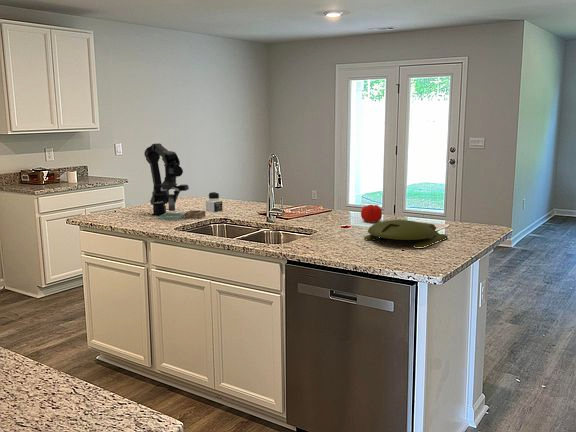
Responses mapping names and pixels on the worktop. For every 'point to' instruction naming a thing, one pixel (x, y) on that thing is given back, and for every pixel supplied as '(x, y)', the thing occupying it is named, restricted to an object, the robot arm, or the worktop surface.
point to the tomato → (371, 213)
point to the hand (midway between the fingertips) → (171, 202)
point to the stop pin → (171, 202)
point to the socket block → (194, 214)
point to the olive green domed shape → (405, 231)
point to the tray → (165, 215)
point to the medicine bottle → (214, 203)
